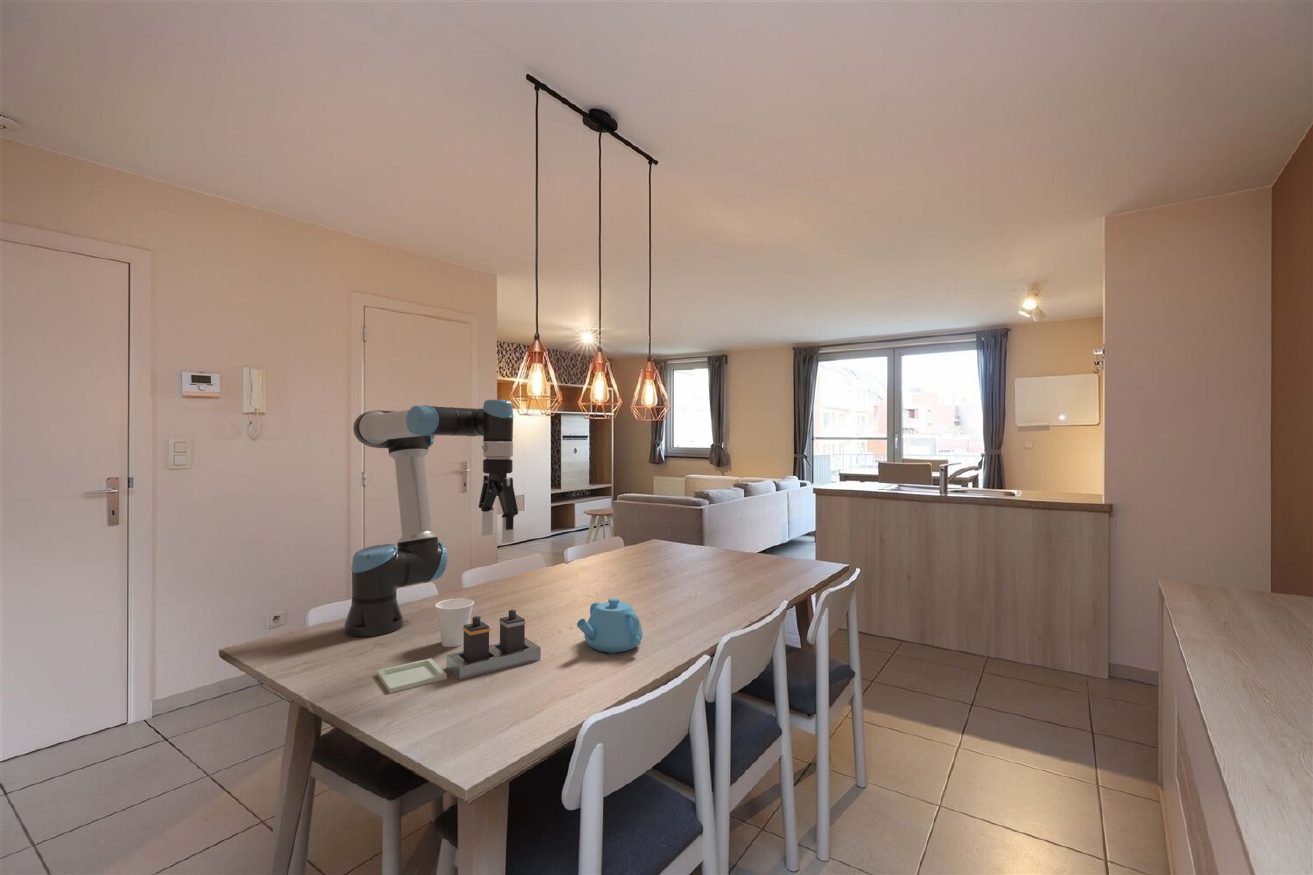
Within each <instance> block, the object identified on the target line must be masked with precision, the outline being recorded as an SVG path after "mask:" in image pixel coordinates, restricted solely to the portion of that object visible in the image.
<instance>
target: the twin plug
mask: <svg viewBox="0 0 1313 875" xmlns="http://www.w3.org/2000/svg"><path fill="white" fill-rule="evenodd" d="M498 623H499V643H500V651H502V652H503V653H504V654H507V653H511V652H515V651H519V650H523V649H524V646H525V638H526V637H525V635H526V634H525V627H526V626H525V625H526V619H525V618H523V617H521V616H520V615H518V614H517V609H509V610H508V616H504V617H500V618H499V622H498Z"/></svg>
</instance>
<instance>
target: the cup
mask: <svg viewBox="0 0 1313 875" xmlns="http://www.w3.org/2000/svg"><path fill="white" fill-rule="evenodd" d="M474 604H475V601H474V600H472V599H470V598H450V599H449V598H448V599H444V600H440V601H438V602H436V604H435V605H434V607H435V610H436V617H437V622H438V623H437V624H438V629H439V634H440V641H441V642H440V643H441V646H442V647H444V648H455V647H456V648H457V647H461V646H464V630H463V627H464V625H467V624H471V618H472V612H473V607H474Z"/></svg>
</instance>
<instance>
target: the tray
mask: <svg viewBox="0 0 1313 875" xmlns="http://www.w3.org/2000/svg"><path fill="white" fill-rule="evenodd" d="M376 675H377V677H378V679H379V680H380V681H381V683H382V684H383V685H384V687H385V688H386V690H387V691H388V693H389V694H392V693H396V692H401V691H404V690H409V689H412V688H417V687H421V686H425V685H428V684H433V683H437V682H440V681H445V680H448V674H447V673H446V672H445V670H444V669H442V668H441V666H440V665H438V664H437V662H435V661H434V660H433V659H432V658H431V657H430V658H426V659H422V660H416V661H413V662H408V663H403V664H398V665H395V666H391V667H386V668H382V669H377V670H376Z"/></svg>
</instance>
